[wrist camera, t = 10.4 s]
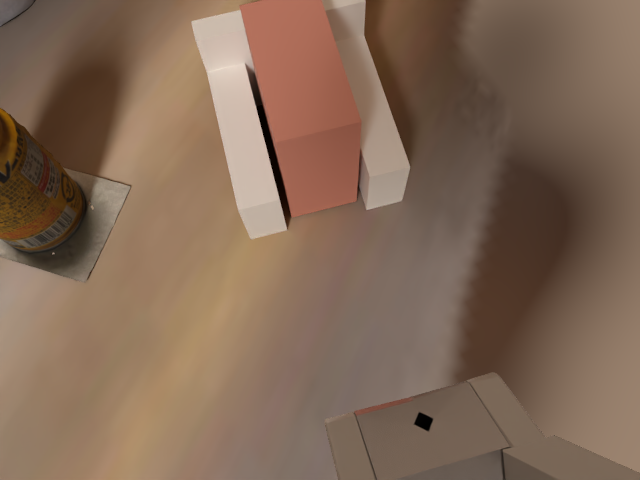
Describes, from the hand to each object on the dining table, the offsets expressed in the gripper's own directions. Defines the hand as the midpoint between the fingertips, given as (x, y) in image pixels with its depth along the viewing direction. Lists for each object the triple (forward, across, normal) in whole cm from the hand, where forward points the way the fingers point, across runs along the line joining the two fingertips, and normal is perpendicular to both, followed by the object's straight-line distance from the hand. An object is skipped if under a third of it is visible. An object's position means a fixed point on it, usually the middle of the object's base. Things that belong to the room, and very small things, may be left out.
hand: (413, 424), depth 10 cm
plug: (+31, -2, +4) cm, 32 cm away
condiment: (+32, +16, +4) cm, 36 cm away
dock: (+32, -2, +4) cm, 32 cm away
